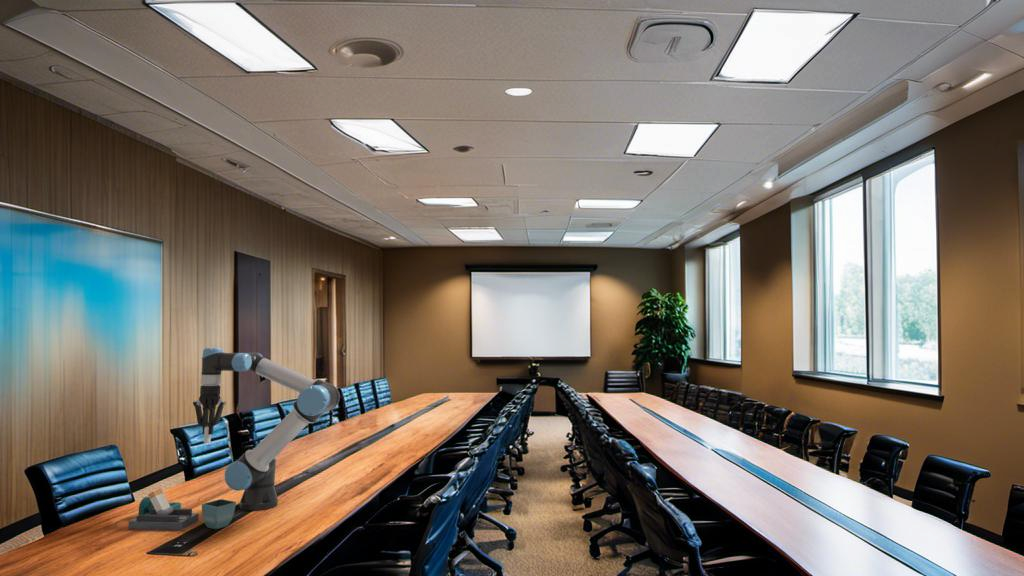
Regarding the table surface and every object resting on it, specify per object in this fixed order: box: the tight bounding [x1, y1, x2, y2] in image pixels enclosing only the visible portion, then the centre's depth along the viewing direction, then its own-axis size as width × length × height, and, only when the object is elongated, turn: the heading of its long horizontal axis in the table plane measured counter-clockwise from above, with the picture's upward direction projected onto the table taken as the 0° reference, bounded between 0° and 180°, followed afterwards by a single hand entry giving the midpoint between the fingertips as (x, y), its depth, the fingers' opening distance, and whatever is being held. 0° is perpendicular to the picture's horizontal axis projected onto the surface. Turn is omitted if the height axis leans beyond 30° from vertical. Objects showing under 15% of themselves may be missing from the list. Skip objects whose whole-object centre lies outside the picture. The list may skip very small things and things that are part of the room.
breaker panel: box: [127, 512, 200, 531], centre depth 231 cm, size 20×12×3 cm, turn 90°
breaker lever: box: [147, 487, 173, 515], centre depth 231 cm, size 3×6×10 cm, turn 2°
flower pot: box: [201, 498, 237, 530], centre depth 230 cm, size 9×9×9 cm
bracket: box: [137, 496, 182, 516], centre depth 247 cm, size 18×7×8 cm, turn 172°
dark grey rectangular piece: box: [136, 508, 193, 522], centre depth 231 cm, size 15×11×2 cm
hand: (207, 442), depth 250 cm, fingers closed
